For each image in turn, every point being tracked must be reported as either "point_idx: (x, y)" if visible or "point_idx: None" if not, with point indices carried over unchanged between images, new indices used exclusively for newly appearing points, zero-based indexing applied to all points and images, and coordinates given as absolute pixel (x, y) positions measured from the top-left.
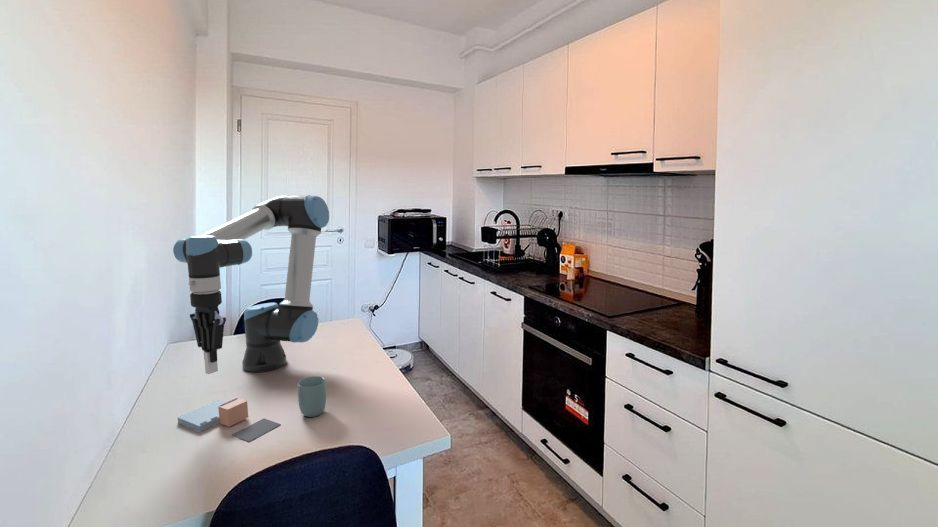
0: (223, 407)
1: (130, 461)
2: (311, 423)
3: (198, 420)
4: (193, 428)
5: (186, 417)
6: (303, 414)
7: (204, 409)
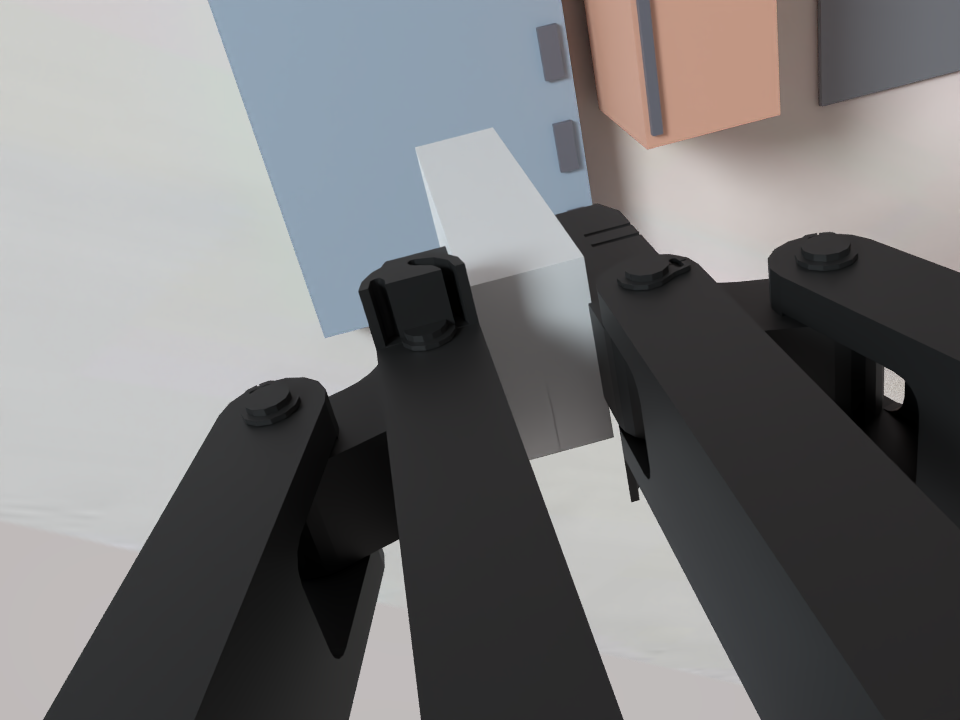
0: (709, 123)
1: (602, 568)
2: None
3: None
4: None
5: None
6: None
7: (328, 145)
